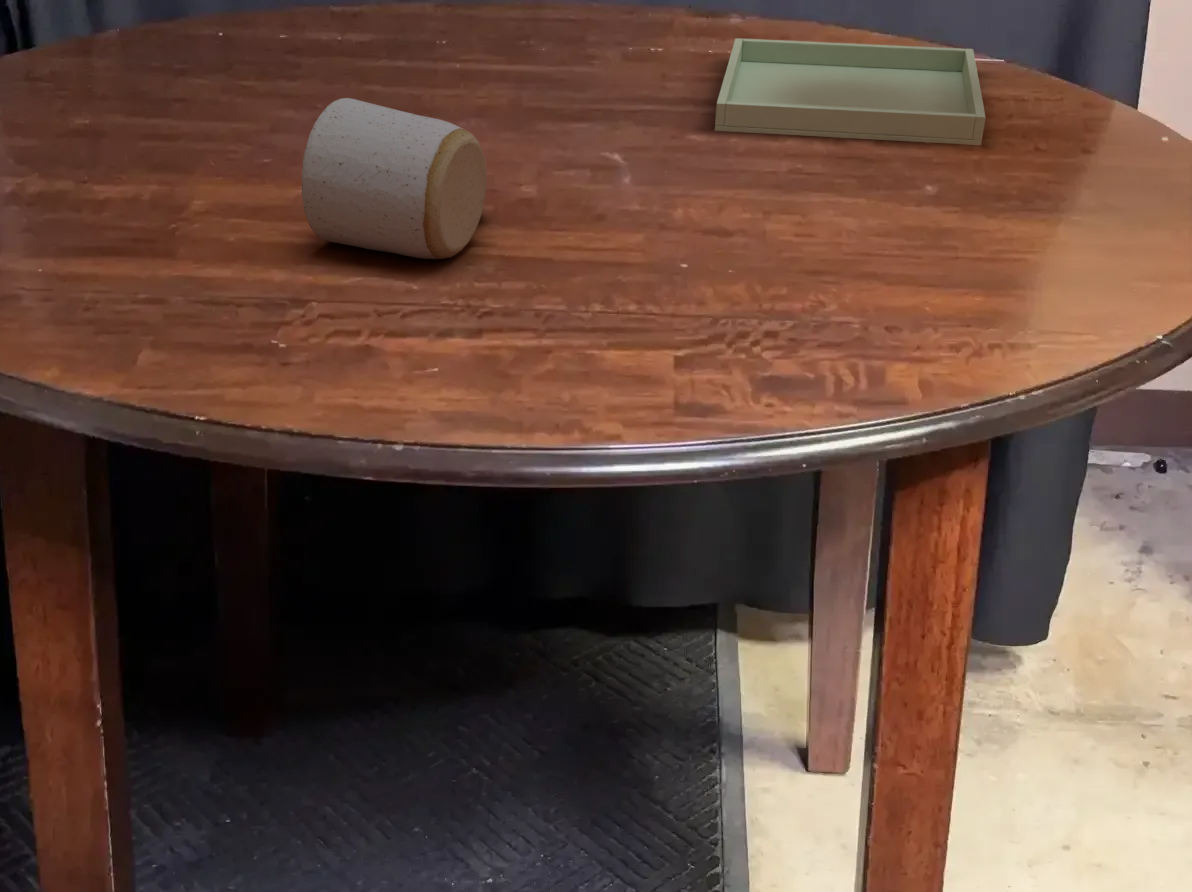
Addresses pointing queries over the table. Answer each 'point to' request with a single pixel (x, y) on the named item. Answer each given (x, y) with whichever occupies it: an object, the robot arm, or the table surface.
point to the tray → (852, 91)
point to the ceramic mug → (392, 181)
